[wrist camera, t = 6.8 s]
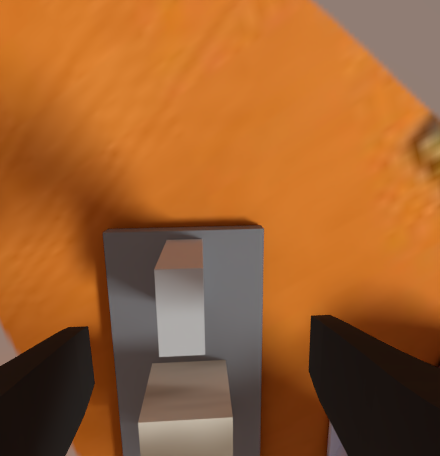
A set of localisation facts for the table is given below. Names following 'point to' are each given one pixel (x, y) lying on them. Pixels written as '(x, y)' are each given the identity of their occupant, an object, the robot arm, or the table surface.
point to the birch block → (187, 410)
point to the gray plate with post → (187, 315)
